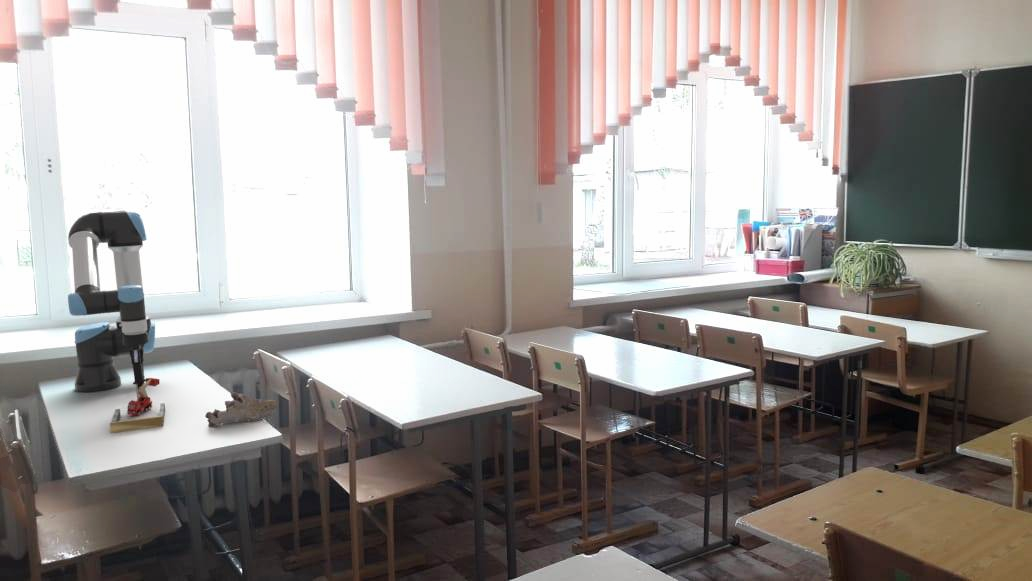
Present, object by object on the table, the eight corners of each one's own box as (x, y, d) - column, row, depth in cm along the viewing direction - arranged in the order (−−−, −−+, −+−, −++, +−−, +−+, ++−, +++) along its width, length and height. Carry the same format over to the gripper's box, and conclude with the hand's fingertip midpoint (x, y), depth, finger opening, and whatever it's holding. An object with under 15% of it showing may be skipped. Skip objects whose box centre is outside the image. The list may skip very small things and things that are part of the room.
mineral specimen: (219, 416, 228) (210, 388, 232) (206, 434, 233) (198, 407, 237) (282, 411, 243) (272, 385, 247) (268, 429, 248) (259, 402, 252)
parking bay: (116, 416, 249) (115, 407, 248) (165, 410, 254) (164, 401, 254) (110, 433, 232) (109, 423, 232) (163, 426, 238) (162, 416, 237)
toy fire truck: (125, 416, 247) (126, 387, 246) (149, 403, 261) (150, 376, 259) (135, 417, 247) (136, 388, 246) (158, 404, 261) (160, 377, 259)
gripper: (123, 330, 259) (130, 398, 262) (120, 337, 247) (127, 408, 250) (148, 328, 261) (155, 395, 265) (146, 334, 250) (153, 405, 253)
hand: (141, 401), depth 257 cm, fingers closed
